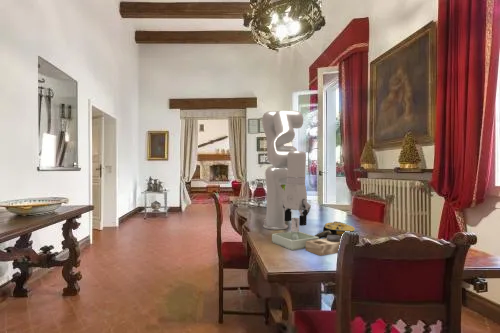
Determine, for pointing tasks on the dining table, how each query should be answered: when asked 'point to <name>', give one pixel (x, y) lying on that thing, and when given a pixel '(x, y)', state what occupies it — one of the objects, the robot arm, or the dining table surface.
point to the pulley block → (335, 229)
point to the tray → (286, 241)
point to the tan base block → (324, 245)
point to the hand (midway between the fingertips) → (295, 223)
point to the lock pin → (295, 229)
